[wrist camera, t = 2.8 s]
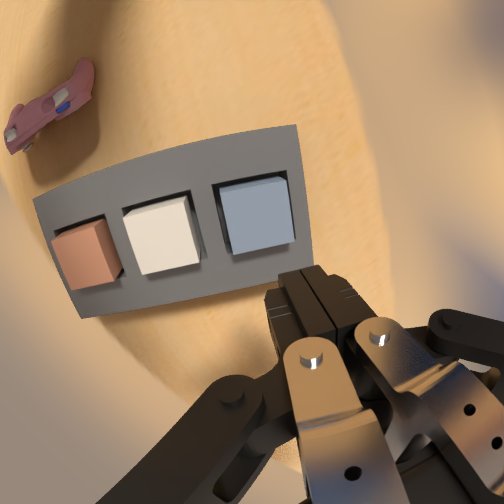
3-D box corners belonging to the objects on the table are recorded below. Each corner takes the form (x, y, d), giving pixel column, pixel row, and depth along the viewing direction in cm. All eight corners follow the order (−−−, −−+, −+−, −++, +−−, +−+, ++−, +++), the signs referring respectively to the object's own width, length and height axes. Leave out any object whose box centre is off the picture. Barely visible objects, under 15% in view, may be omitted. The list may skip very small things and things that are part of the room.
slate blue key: (219, 187, 20) (219, 193, 18) (278, 175, 20) (286, 180, 18) (231, 242, 22) (233, 254, 19) (286, 230, 22) (294, 241, 20)
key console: (54, 189, 20) (32, 199, 17) (282, 127, 21) (296, 124, 18) (94, 297, 25) (81, 318, 21) (300, 253, 26) (314, 271, 23)
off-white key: (132, 209, 19) (122, 218, 17) (186, 194, 20) (183, 201, 17) (148, 260, 21) (142, 274, 19) (200, 249, 22) (199, 262, 19)
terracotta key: (64, 230, 19) (50, 241, 17) (105, 217, 19) (93, 226, 17) (82, 276, 21) (71, 290, 19) (122, 267, 21) (114, 281, 19)
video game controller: (34, 138, 19) (5, 173, 15) (16, 105, 15) (-19, 134, 11) (109, 91, 19) (89, 114, 15) (93, 52, 16) (66, 64, 11)
